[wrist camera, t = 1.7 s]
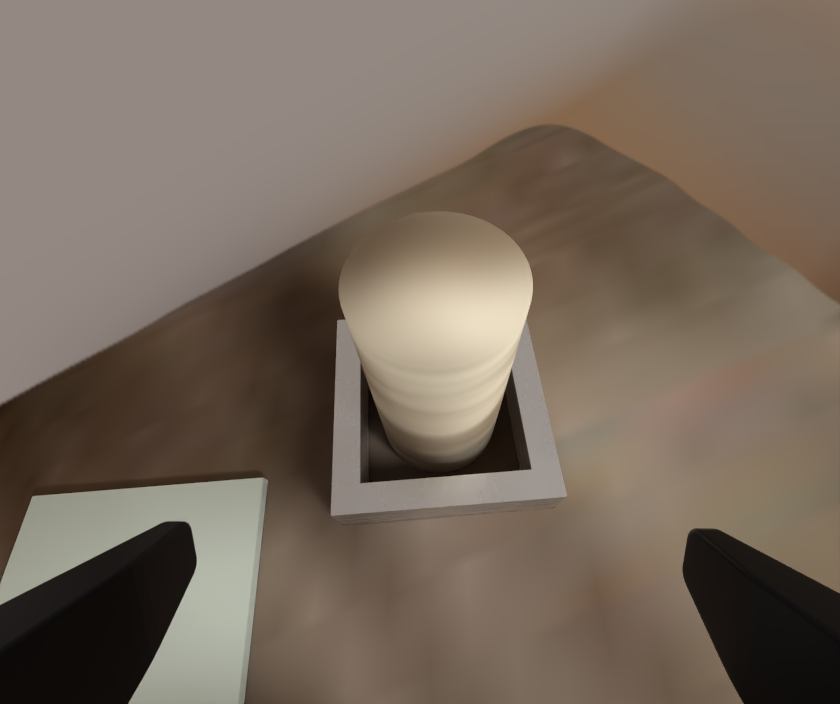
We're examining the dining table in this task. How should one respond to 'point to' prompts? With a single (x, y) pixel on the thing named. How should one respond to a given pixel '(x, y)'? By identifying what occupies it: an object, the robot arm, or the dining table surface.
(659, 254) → the dining table surface
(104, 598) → the robot arm
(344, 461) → the grey square frame
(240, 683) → the sage board
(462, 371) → the maple peg
